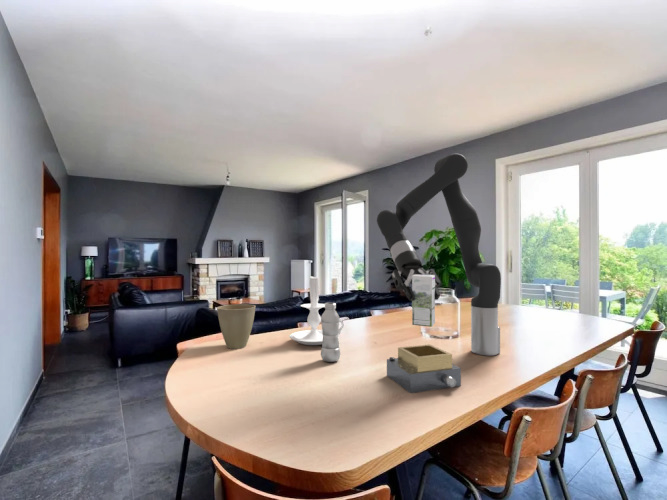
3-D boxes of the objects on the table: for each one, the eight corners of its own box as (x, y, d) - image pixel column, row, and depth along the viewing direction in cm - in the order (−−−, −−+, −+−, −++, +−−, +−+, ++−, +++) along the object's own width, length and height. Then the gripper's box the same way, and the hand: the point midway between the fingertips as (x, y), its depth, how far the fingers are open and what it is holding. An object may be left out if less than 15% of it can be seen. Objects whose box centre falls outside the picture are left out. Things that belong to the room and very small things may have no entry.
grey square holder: (432, 370, 112) (432, 341, 112) (468, 390, 96) (467, 356, 96) (386, 375, 107) (386, 346, 107) (416, 397, 91) (416, 362, 91)
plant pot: (263, 344, 143) (263, 305, 143) (235, 353, 131) (235, 310, 131) (237, 340, 151) (237, 302, 151) (208, 348, 139) (208, 307, 139)
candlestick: (356, 344, 144) (356, 275, 144) (301, 352, 132) (301, 278, 132) (333, 333, 162) (332, 273, 162) (282, 340, 150) (282, 274, 151)
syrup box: (435, 323, 104) (435, 274, 104) (432, 327, 98) (432, 275, 98) (415, 321, 106) (415, 273, 106) (411, 325, 101) (411, 275, 101)
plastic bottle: (338, 364, 118) (338, 304, 118) (318, 363, 119) (318, 304, 119) (341, 358, 124) (341, 302, 124) (323, 357, 125) (323, 301, 125)
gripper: (389, 249, 108) (408, 291, 97) (429, 249, 112) (452, 289, 101) (381, 266, 113) (398, 307, 102) (420, 265, 117) (441, 305, 106)
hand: (425, 298), depth 101 cm, fingers closed on syrup box, 8 cm apart
